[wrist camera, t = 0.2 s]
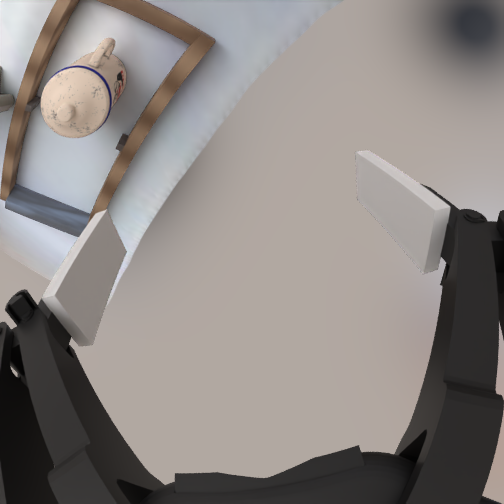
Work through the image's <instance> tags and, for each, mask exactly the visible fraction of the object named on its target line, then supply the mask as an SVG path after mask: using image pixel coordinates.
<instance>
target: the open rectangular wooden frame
mask: <svg viewBox="0 0 504 504" xmlns="http://www.w3.org/2000/svg"><path fill="white" fill-rule="evenodd" d="M97 1H100V2H102V3H105V4H107V5H110V6H112V7H115V8H117V9H120V10H122V11H124V12H127V13H129V14H131V15H133V16H136V17H138V18H140V19H142V20H144V21H146V22H148V23H150V24H152V25H154V26H156V27H158V28H160V29H162V30H164V31H166V32H168V33H170V34H172V35H174V36H176V37H177V38H179V39H181V40H183V41H185V42H186V43H188V44H190V46H189V47H188V48H187V50H186V51H185V52H184V53H183V55H182V56H181V57H180V59H179V60H178V61H177V63H176V64H175V65H174V67H173V68H172V69H171V71H170V72H169V74H168V75H167V76H166V78H165V79H164V81H163V82H162V84H161V85H160V86H159V88H158V89H157V91H156V92H155V94H154V95H153V97H152V98H151V100H150V102H149V103H148V105H147V106H146V108H145V109H144V111H143V113H142V114H141V116H140V118H139V119H138V121H137V123H136V124H135V126H134V128H133V129H132V131H131V133H130V135H129V136H128V135H125V134H122V136H121V138H120V140H119V142H118V144H117V147H116V149H117V150H119V151H120V153H119V155H118V157H117V158H116V160H115V162H114V164H113V166H112V168H111V170H110V172H109V174H108V176H107V178H106V180H105V183H104V185H103V187H102V189H101V191H100V193H99V196H98V198H97V200H96V202H95V205H94V207H93V209H92V212H91V214H89V213H86V212H84V211H81V210H79V209H76V208H74V207H71V206H69V205H66V204H64V203H61V202H59V201H56V200H54V199H51V198H49V197H46V196H44V195H41V194H39V193H36V192H34V191H32V190H29V189H27V188H24V187H22V186H20V185H17V184H16V177H17V171H18V165H19V159H20V154H21V149H22V145H23V140H24V136H25V132H26V128H27V124H28V120H29V117H30V113H31V111H32V110H33V109H34V108H35V107H36V106H37V105H38V104H39V102H40V99H41V98H40V97H37V96H36V94H37V91H38V88H39V85H40V82H41V80H42V77H43V74H44V72H45V69H46V67H47V64H48V62H49V59H50V57H51V55H52V52H53V50H54V48H55V46H56V44H57V41H58V39H59V37H60V35H61V33H62V31H63V29H64V27H65V25H66V23H67V21H68V20H69V18H70V16H71V14H72V12H73V11H74V9H75V7H76V5H77V4H78V2H79V0H57V1H56V3H55V4H54V6H53V8H52V10H51V12H50V14H49V16H48V18H47V20H46V22H45V24H44V26H43V28H42V31H41V33H40V35H39V37H38V40H37V42H36V44H35V47H34V49H33V52H32V54H31V57H30V60H29V62H28V65H27V68H26V71H25V74H24V77H23V80H22V83H21V86H20V89H19V93H18V96H17V100H16V103H15V107H14V111H13V115H12V120H11V124H10V129H9V134H8V139H7V145H6V151H5V157H4V164H3V172H2V182H1V194H0V199H2V200H4V201H6V202H5V208H6V209H8V210H11V211H13V212H16V213H18V214H21V215H23V216H25V217H28V218H30V219H33V220H35V221H38V222H40V223H43V224H45V225H48V226H50V227H53V228H56V229H58V230H61V231H63V232H66V233H69V234H71V235H74V236H76V237H79V236H80V235H81V233H82V232H83V230H84V229H85V228H86V226H87V225H88V223H89V222H90V221H91V219H92V218H93V216H94V215H95V214H96V213H98V212H101V211H104V210H106V208H107V206H108V204H109V202H110V200H111V198H112V196H113V194H114V192H115V190H116V188H117V186H118V184H119V182H120V180H121V179H122V177H123V175H124V173H125V171H126V169H127V168H128V166H129V164H130V162H131V161H132V159H133V157H134V155H135V154H136V152H137V150H138V149H139V147H140V145H141V144H142V142H143V140H144V139H145V137H146V135H147V134H148V132H149V131H150V129H151V128H152V126H153V124H154V123H155V121H156V120H157V118H158V117H159V115H160V114H161V112H162V111H163V109H164V108H165V107H166V105H167V104H168V102H169V101H170V99H171V98H172V97H173V95H174V94H175V92H176V91H177V90H178V88H179V87H180V86H181V84H182V83H183V82H184V80H185V79H186V78H187V76H188V75H189V74H190V72H191V71H192V70H193V69H194V67H195V66H196V65H197V63H198V62H199V61H200V60H201V59H202V57H203V56H204V55H205V54H206V53H207V51H208V50H209V49H210V48H211V47H212V45H213V44H214V43H215V39H214V38H212V37H211V36H209V35H207V34H206V33H204V32H202V31H201V30H199V29H197V28H196V27H194V26H192V25H190V24H189V23H187V22H185V21H183V20H181V19H180V18H178V17H176V16H174V15H172V14H170V13H168V12H166V11H164V10H162V9H160V8H158V7H156V6H154V5H152V4H150V3H148V2H146V1H143V0H97Z"/></svg>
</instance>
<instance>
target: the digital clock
mask: <svg viewBox="0 0 504 504" xmlns="http://www.w3.org/2000/svg"><path fill="white" fill-rule="evenodd" d="M0 86H1V66H0ZM13 104H14V99H13V96H12V95H11V94H0V112H4V111H7V110H9V109H10V108H11V107H12V105H13Z"/></svg>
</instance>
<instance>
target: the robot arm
mask: <svg viewBox="0 0 504 504" xmlns="http://www.w3.org/2000/svg"><path fill="white" fill-rule="evenodd" d="M355 159H356V179H357V200H358V201H359V202H360V203H361V204H362V205H363V206H364V207H365V208H366V209H367V210H368V211H369V212H370V213H371V215H373V217H374V218H375V219H377V221H378V222H379V223H380V224H381V225H382V226H383V228H384V229H385V230H386V231H387V232H388V233H389V234H390V235H391V237H392V238H393V239H394V240H395V241H396V242H397V243H398V245H399V246H400V247H401V248H402V249H403V250H404V252H405V253H406V254H407V255H408V256H409V258H410V259H411V260H412V261H413V263H414V264H415V265H416V266H417V267H418V269H419V270H420V271H421V272H422V274H426V273H428V272H432V271H434V270H437V269H438V267H439V263H440V258H441V257H442V258H443V259H444V260H445V262H446V266H445V270H444V273H443V277H442V281H441V284H440V285H442V286H443V288H442V295H441V303H440V309H439V316H438V321H437V326H436V332H435V337H434V341H433V346H432V351H431V355H430V359H429V363H428V367H427V371H426V374H425V378H424V382H423V385H422V389H421V392H420V396H419V398H418V402H417V404H416V407H415V410H414V413H413V416H412V419H411V422H410V425H409V426H408V428H407V430H406V432H405V434H404V436H403V438H402V439H401V441H400V443H399V445H398V448H397V450H396V452H395V454H390V453H382V452H361V451H360V448H359V445H358V446H355V447H352V448H348V449H345V450H342V451H338V452H335V453H331V454H328V455H324V456H320V457H315V458H313V459H310V460H308V461H306V462H304V463H302V464H300V465H297V466H295V467H293V468H291V469H288V470H286V471H284V472H281V473H279V474H276V475H274V476H271V477H268V478H254V477H245V476H237V475H229V474H224V473H218V472H216V473H187V474H185V473H183V474H181V473H180V474H179V473H175V482H172V483H170V484H167V485H164V484H163V483H162V482H161V481H159V480H158V479H157V478H155V477H154V476H153V475H152V474H150V473H149V472H148V471H147V470H146V468H145V467H144V466H143V465H142V463H141V462H140V461H139V459H138V458H137V457H136V455H135V454H134V453H133V451H132V450H131V448H130V447H129V446H128V444H127V443H126V441H125V440H124V438H123V437H122V435H121V434H120V432H119V431H118V429H117V428H116V426H115V425H114V423H113V422H112V420H111V418H110V417H109V415H108V413H107V412H106V410H105V409H104V407H103V405H102V403H101V402H100V400H99V398H98V396H97V395H96V393H95V391H94V389H93V387H92V385H91V384H90V382H89V380H88V378H87V376H86V374H85V372H84V370H83V368H82V366H81V364H80V362H79V360H78V358H77V355H76V353H75V351H74V349H73V348H72V347H71V346H70V345H69V342H70V339H71V337H72V338H73V340H74V341H75V342H76V343H77V344H78V345H79V346H88V345H93V343H94V340H95V337H96V333H97V330H98V327H99V324H100V321H101V318H102V315H103V312H104V309H105V307H106V304H107V301H108V298H109V295H110V293H111V290H112V287H113V285H114V282H115V279H116V277H117V274H118V272H119V269H120V267H121V264H122V262H123V259H124V257H125V255H126V252H127V251H126V249H125V247H124V245H123V243H122V241H121V239H120V237H119V234H118V232H117V230H116V228H115V226H114V224H113V221H112V219H111V217H110V215H109V213H108V210H104V211H101V212H98V213H96V214H95V215H94V216H93V218H92V219H91V221H90V222H89V223H88V225H87V226H86V228H85V229H84V230H83V232H82V233H81V235H80V236H79V238H78V239H77V241H76V242H75V244H74V245H73V247H72V248H71V250H70V251H69V253H68V254H67V256H66V257H65V259H64V261H63V262H62V264H61V265H60V267H59V269H58V270H57V272H56V274H55V275H54V277H53V279H52V280H51V282H50V284H49V286H48V288H47V289H46V291H45V293H44V295H43V296H42V298H41V300H40V302H39V304H38V305H37V304H36V302H35V301H34V300H33V298H32V297H31V295H30V294H29V293H28V291H27V290H21V291H19V292H17V293H16V294H15V295H14V296H13V297H12V298H11V299H10V300H9V302H8V303H7V305H6V308H5V311H6V312H7V313H8V314H9V316H10V317H11V318H12V319H13V321H14V322H15V323H16V325H17V327H15V328H13V329H10V327H9V326H8V325H7V324H6V323H5V322H1V323H0V504H501V503H499V502H496V501H494V500H491V499H489V498H486V497H484V496H482V494H483V491H484V488H485V485H486V482H487V479H488V476H489V473H490V470H491V466H492V462H493V459H494V455H495V451H496V446H497V443H498V438H499V433H500V427H501V423H502V417H503V410H504V400H503V397H502V395H499V394H496V391H495V388H496V377H497V365H498V347H499V322H500V326H501V330H502V335H503V339H504V210H502V211H500V213H499V216H498V221H497V222H492V221H490V222H488V221H487V219H486V218H485V217H484V216H483V215H482V214H481V213H479V212H477V211H474V210H471V209H461V210H459V209H458V208H456V207H455V206H454V205H453V204H451V203H450V202H449V201H447V200H446V199H445V198H443V197H442V196H441V195H439V194H437V192H435V191H434V190H433V189H431V188H430V187H427V186H425V185H423V184H419V183H418V182H417V181H415V180H414V179H412V178H411V177H409V176H408V175H406V174H405V173H404V172H402V171H400V170H399V169H398V168H396V167H394V166H393V165H391V164H390V163H388V162H387V161H385V160H384V159H382V158H380V157H378V156H377V155H375V154H374V153H372V152H370V151H369V150H364V151H357V152H355ZM10 366H11V367H12V368H13V369H14V370H15V371H16V372H17V373H18V377H16V376H15V375H14V374H13V372H12V370H11V367H10ZM54 466H55V467H54Z"/></svg>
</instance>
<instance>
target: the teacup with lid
mask: <svg viewBox="0 0 504 504" xmlns="http://www.w3.org/2000/svg"><path fill="white" fill-rule="evenodd" d="M114 47H115V40H114V39H112V38H106V39H104V40H103V41H102V42H101V43H100V44H99V46H98V47H97V49H96V50H95V52H92V53H89V54H87V55H85V56H83V57H82V58H80V59H79V60H77V61H76V62H74V63H73V64H71V65H70V66H68V67H66V68H64V69H62V70H60V71H58V72H57V73H55V74H54V75H53V76H52V77H51V78H50V79H49V81H48V82H47V84H46V86H45V88H44V90H43V93H42V97H41V111H42V115H43V118H44V120H45V122H46V123H47V125H48V126H49V127H50V128H51V129H52V130H53V131H54V132H56V133H57V134H59V135H61V136H64V137H69V138H80V137H84V136H87V135H89V134H92V133H93V132H95V131H96V130H98V129H99V128H100V127H101V126H102V125H103V124H104V123H105V121H106V120H107V118H108V116H109V113H110V110H111V108H112V107H113V105H114V104H115V102H116V101H117V100H118V98H119V97H120V95H121V94H122V92H123V90H124V88H125V84H126V71H125V68H124V66H123V64H122V62H121V61H120V60H119V59H118V58H117V57H116V56H114V55H112V54H111V53H112V51H113V49H114Z"/></svg>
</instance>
